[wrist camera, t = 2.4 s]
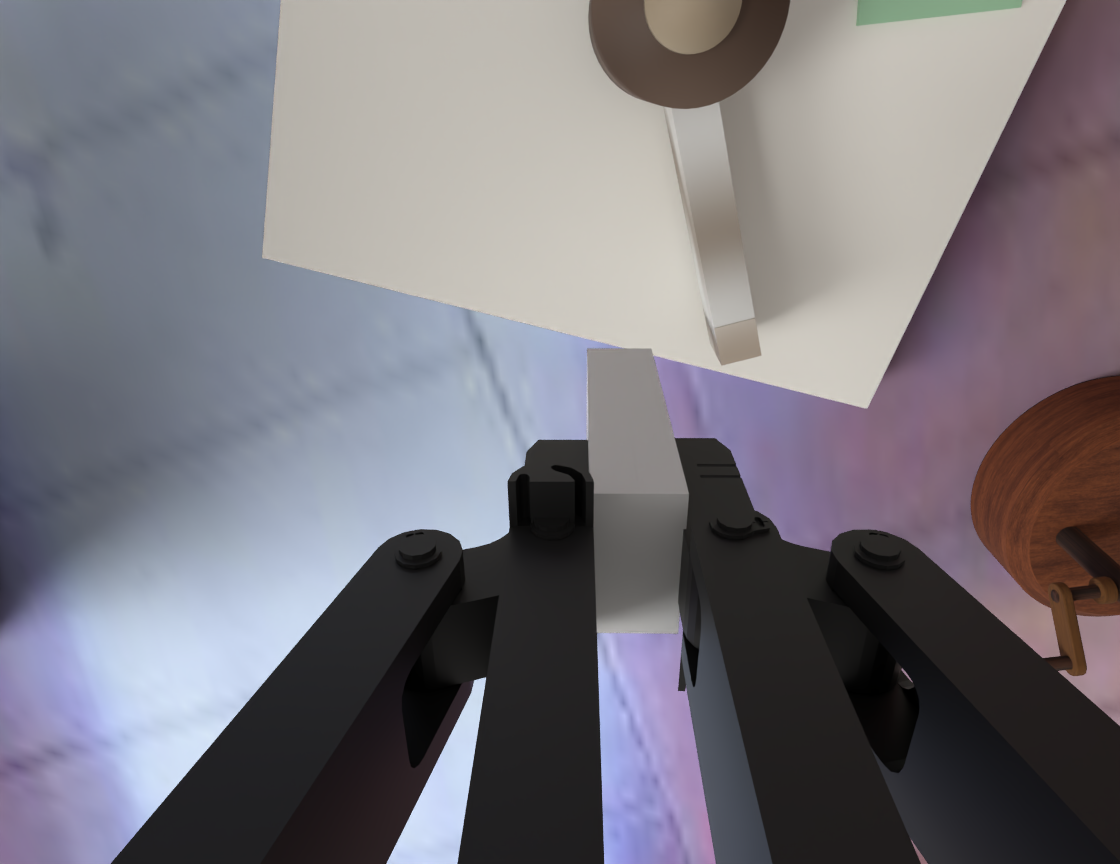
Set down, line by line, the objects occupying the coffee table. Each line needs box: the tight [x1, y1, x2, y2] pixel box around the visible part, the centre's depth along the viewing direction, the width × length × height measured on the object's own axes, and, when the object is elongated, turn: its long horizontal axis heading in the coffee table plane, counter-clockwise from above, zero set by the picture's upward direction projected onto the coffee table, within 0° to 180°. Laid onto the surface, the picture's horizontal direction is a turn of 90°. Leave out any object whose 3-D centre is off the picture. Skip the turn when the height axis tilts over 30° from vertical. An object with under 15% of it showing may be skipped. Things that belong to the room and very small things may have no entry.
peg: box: [588, 0, 790, 366], centre depth 22 cm, size 14×5×5 cm, turn 16°
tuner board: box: [262, 0, 1066, 409], centre depth 24 cm, size 24×22×3 cm
